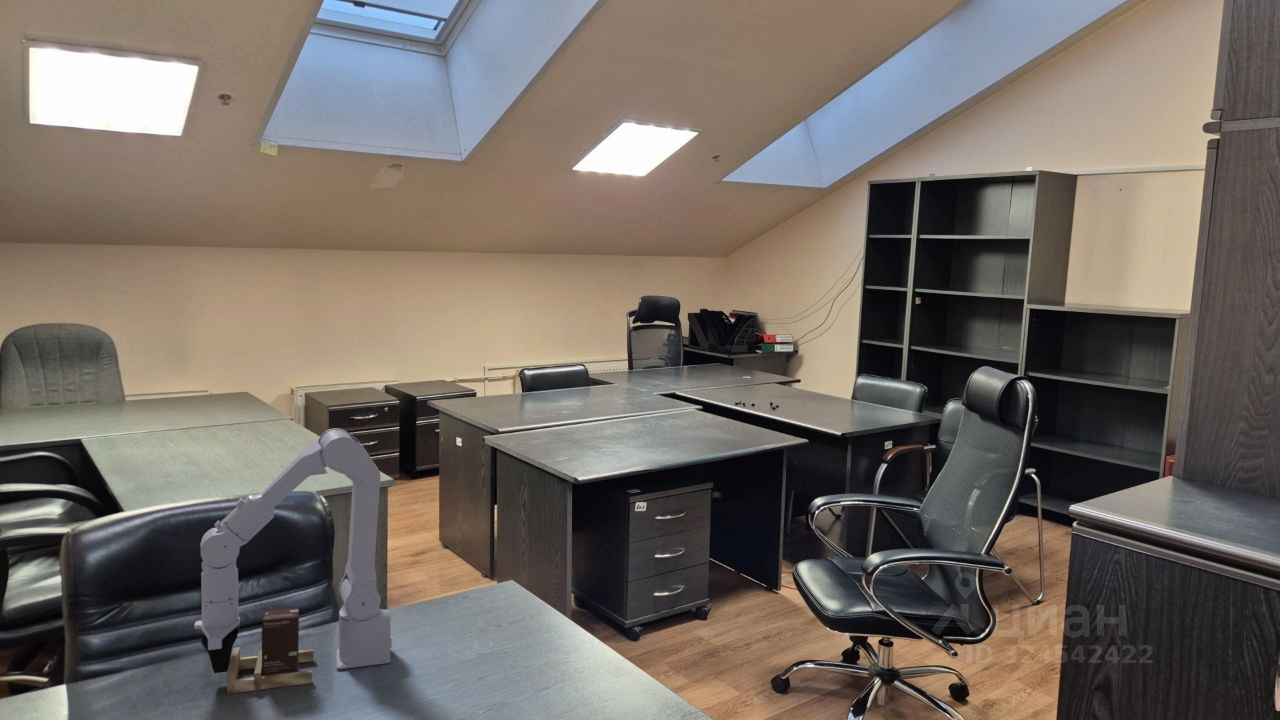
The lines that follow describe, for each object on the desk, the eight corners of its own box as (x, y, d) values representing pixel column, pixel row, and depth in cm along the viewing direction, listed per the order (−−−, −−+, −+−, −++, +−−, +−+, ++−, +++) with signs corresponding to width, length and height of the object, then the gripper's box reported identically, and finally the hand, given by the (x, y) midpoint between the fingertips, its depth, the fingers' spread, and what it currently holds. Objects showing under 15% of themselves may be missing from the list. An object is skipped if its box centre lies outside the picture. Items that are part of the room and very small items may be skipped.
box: (261, 685, 142) (260, 619, 141) (263, 673, 146) (263, 609, 145) (298, 680, 144) (298, 616, 143) (299, 668, 148) (299, 606, 147)
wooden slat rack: (313, 659, 152) (313, 638, 151) (311, 682, 143) (311, 661, 143) (233, 668, 147) (233, 647, 147) (227, 693, 139) (227, 671, 138)
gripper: (201, 583, 146) (202, 655, 147) (186, 615, 133) (188, 694, 134) (244, 579, 148) (244, 650, 150) (234, 611, 135) (235, 688, 136)
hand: (221, 670), depth 142 cm, fingers closed, pressing on wooden slat rack
